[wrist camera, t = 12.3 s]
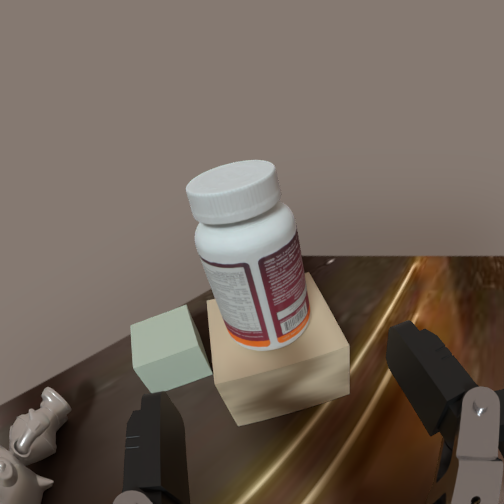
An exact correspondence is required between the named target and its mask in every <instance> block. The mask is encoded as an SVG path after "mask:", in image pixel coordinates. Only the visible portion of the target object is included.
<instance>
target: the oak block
mask: <svg viewBox="0 0 504 504" xmlns="http://www.w3.org/2000/svg"><path fill="white" fill-rule="evenodd" d="M305 280H306V285H307V293H308V298H309V305H310V320H309V323H308V326H307V328H306V329H305V331H304V332H303V333H302V334H301V336H300V337H298V338H297V339H296V340H295V341H294V342H292V343H290V344H289V345H287V346H284V347H282V348H279V349H275V350H269V351H256V350H251V349H247V348H244V347H242V346H240V345H239V344H237V343H236V342H235V341H234V340H233V339H232V338H231V336H230V335H229V332H228V330H227V328H226V325H225V323H224V320H223V318H222V315H221V313H220V310H219V307H218V305H217V302H216V299H212V300H209V301H207V310H208V321H209V332H210V343H211V353H212V363H213V373H214V382H215V386H216V388H217V390H218V391H219V393H220V395H221V397H222V399H223V400H224V402H225V404H226V406H227V408H228V409H229V411H230V413H231V415H232V417H233V418H234V420H235V422H236V423H237V425H238V426H242V425H246V424H250V423H255V422H259V421H263V420H267V419H270V418H274V417H278V416H282V415H285V414H289V413H292V412H296V411H299V410H302V409H306V408H309V407H312V406H315V405H319V404H322V403H325V402H328V401H331V400H334V399H337V398H339V397H342V396H345V395H348V394H350V350H349V344H348V342H347V340H346V338H345V336H344V335H343V333H342V331H341V329H340V327H339V325H338V323H337V322H336V320H335V318H334V316H333V314H332V313H331V311H330V309H329V307H328V305H327V304H326V302H325V300H324V298H323V296H322V295H321V293H320V291H319V289H318V287H317V286H316V284H315V282H314V280H313V278H312V277H311V275H310V273H309V272H308V273H305Z"/></svg>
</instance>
